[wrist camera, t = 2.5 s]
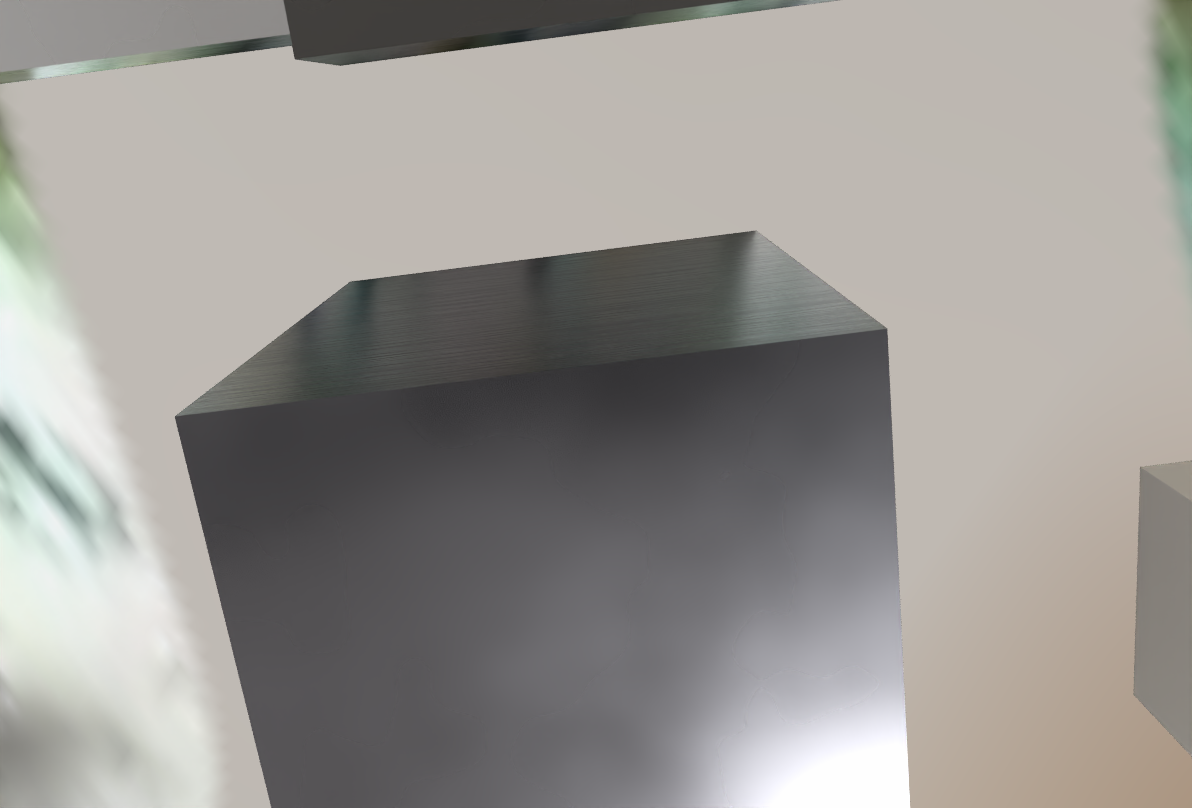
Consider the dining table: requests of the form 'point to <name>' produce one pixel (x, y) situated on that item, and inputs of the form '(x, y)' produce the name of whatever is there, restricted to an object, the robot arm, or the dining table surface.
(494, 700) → the dark grey cube
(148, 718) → the dining table surface
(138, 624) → the dining table surface
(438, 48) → the ratchet
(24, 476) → the dining table surface
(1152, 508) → the robot arm
